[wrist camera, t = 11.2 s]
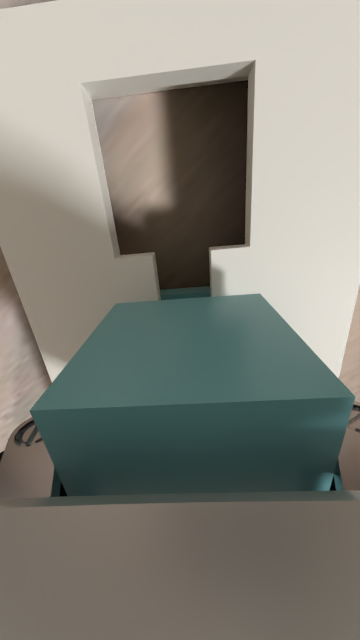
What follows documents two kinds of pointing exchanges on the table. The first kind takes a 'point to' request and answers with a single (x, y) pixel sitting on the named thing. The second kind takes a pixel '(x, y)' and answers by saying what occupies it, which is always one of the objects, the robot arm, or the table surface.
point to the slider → (194, 402)
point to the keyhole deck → (261, 172)
